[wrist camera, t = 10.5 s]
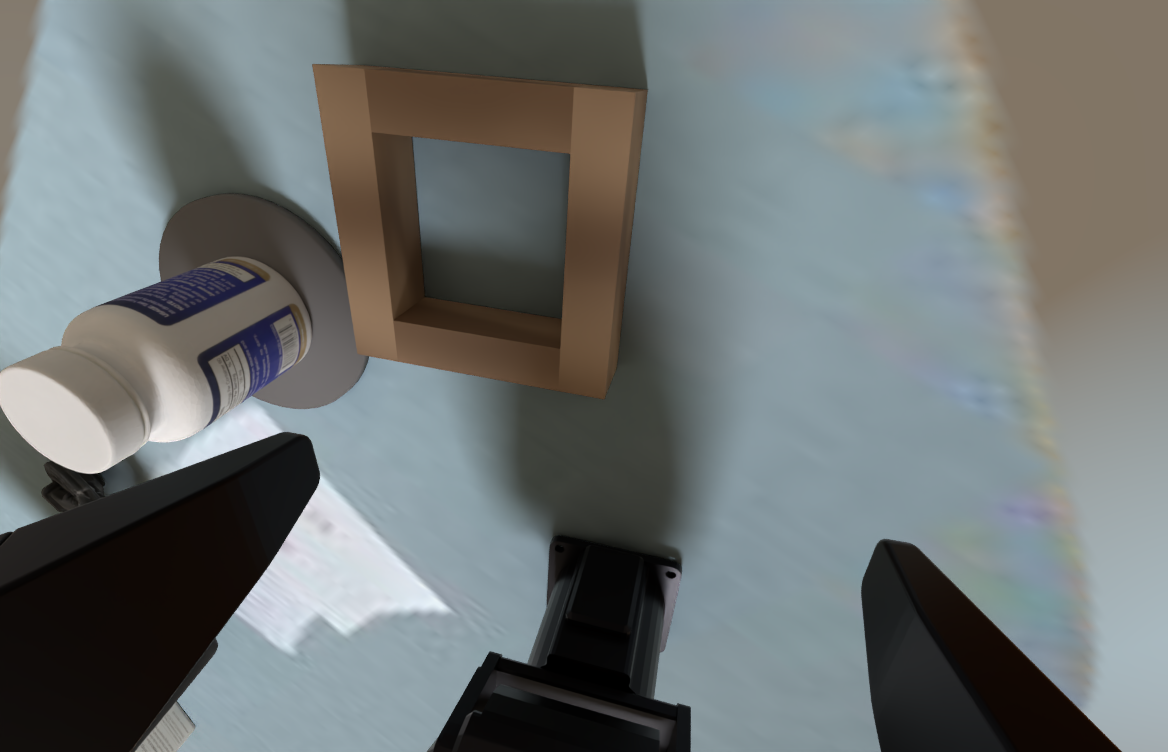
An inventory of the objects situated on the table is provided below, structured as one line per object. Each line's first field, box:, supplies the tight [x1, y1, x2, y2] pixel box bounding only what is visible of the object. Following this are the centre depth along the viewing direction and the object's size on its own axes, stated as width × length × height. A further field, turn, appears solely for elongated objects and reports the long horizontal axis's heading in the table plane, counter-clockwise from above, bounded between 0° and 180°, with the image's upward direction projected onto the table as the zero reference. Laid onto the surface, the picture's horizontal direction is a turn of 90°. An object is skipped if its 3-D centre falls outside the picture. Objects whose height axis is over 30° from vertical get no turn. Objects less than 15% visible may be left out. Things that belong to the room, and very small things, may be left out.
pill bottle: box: [0, 257, 312, 474], centre depth 21 cm, size 5×5×9 cm
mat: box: [159, 193, 369, 409], centre depth 25 cm, size 10×10×1 cm
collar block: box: [312, 64, 648, 399], centre depth 20 cm, size 10×10×2 cm
